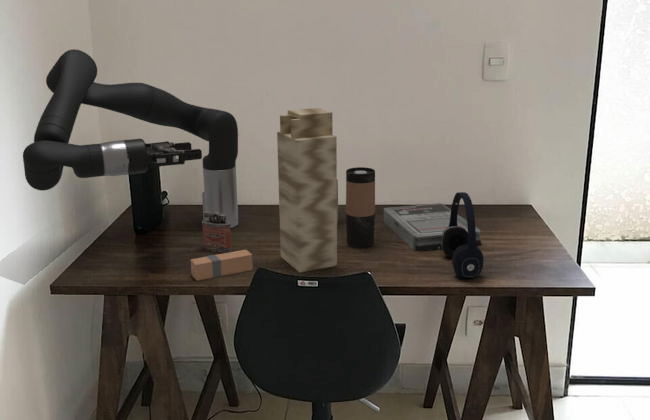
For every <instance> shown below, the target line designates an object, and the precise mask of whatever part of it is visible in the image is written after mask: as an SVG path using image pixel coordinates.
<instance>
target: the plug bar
mask: <svg viewBox="0 0 650 420" xmlns="http://www.w3.org/2000/svg"><path fill="white" fill-rule="evenodd" d="M253 268H254V266H253V254H252V253H251V252H250V251H248V250H247V249H242V250H236V251H230V252H223V253H219V254H211V255H210V254H209V255H207V256H202V257H197V258H191V259H190V270H191V271H190V272H191V276H192V277H193V279H195V281H197V282H198V281H203V280H208V279H214V278H219V277H223V276H229V275H233V274H239V273H245V272H249V271H250V272H251V271H254V269H253Z"/></svg>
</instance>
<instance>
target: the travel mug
mask: <svg viewBox="0 0 650 420" xmlns="http://www.w3.org/2000/svg"><path fill="white" fill-rule="evenodd" d="M345 180H346V181H345V225H346V227H345V228H346V244H347V246H348V247H351V248H355V249H367V248H370V247H373V245H374V242H375V225H376V224H375V223H376V222H375V220H376V171H375V169H374V168H371V167H361V166H358V167H357V166H356V167H350V168H347V169H346V171H345Z"/></svg>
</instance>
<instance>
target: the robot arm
mask: <svg viewBox="0 0 650 420" xmlns="http://www.w3.org/2000/svg"><path fill="white" fill-rule="evenodd" d="M97 75H98V66H97V64H96V62H95V60H94V59H93V58H92V57H91V56H90V55H89V54H88V53H86V52H85V51H82V50H80V49H69V50H65V52H64V53H62V54H61V55H60V56H59V58H58V59H57V60H56V62H55V63H54V65H53V66H52V68H51V69H50V71H49V72H48V74H47V75H46V79H45V83H46V87H47V88H48V89H49V90H50V91H51V93H53V94H52V96H51V98H50V99H49V101H48V103H47V104H46V106H45V108H44V109H43V112H42V114H41V116H40V118H39V121H38V123H37V125H36V129H35V132H34V135H33V136H34V137H33V142H31V143H30V144H28V145H27V146H25V148H24V150H23V151H22V161H23V167H24V168H23V169H24V177H25V180H26V182H27V184H28V185H29V187H31V188H32V189H34V190H37V191H44V192H45V191H49V190H51V189H53V188H54V187H56V186H57V185H58V184H59V183H60V181H61V178H62V176H63V170H64V167H68V168H71V169H72V170H73V173H74V175H75V176H76V177H77V178H80V179H88V178H97V177H107V176H108V177H118V176H125V175H126V176H127V175H136V174H144V173H147V171H148V170H149V164H155V165H156V167H159V168H160V167H165V166H167V167H168V166H177V165H185V163H186V161H195V160H201V159H202V173H203V175H202V177H203V189H204V191H203V192H202V193H201V199H202V200H201V201H202V202H201V203H202V215H203V216H202V217H203V220H209V218H205V217H204V213H205V212H211V213H217V212H220V214H225V215H226V221H228V222H231V226H230V229H232V228H235V227H237V226H238V225H239V208H238V207H239V204H238V188H237V187H238V185H237V169H236V168H237V167H236V165H237V164H236V163H237V158H238V154H239V129H238V128H239V127H238V122H237V120H236V118H235V116H234V115H233V114H232V113H230V112H228V111H225V110H221V109H220V110H219V109H216V108H209V107H203V106H199V105H196V104H195V105H194V104H191V103H188V102H186V101H184V100H181V98H179V97H177V96H175V95H174V94H172V93H170V92H168V91H166V90H164V89H162V88H158V87H156V86H153V85H150V84H147V83H144V82H124V83H116V84H115V83H113V84H105V83H104V84H103V83H99V82H95V80H96V78H97ZM81 105H87V106H92V107H96V108H100V109H103V110H104V109H105V110H108V111H112V112H116V113H119V114H122V115H125V116H129V117H132V118H133V119H134V118H135V119H136V120H137V119H138V120H139V121H140V120H141V121H143V122H147V123H150V124H154V125H158V126H162V127H170V128H175V129H180V130H182V131H184V132H187V133H188V134H189V133H190V134H192V135H194V136H196V137H198V138H200V139H201V140H204V141H206V142H208V153H207V155H205V156H203V152H202V151H203V150H201V149H200V148H195V149H194V148H192V143H191V142H190V141H188V142H176V143H175V142H171V141H167V140H166V141H160V142H151V143H146V142H145V140H144V139H143V138H133V139H121V140H111V141H110V140H109V141H106V142H101V143H90V144H82V145H81V144H80V145H79V144H73V143H70V139H71V136H72V133H73V130H74V127H75V123H76V119H77V118H78V113H79V110H80V107H81ZM177 157H178V158H177ZM212 220H213V218H212Z"/></svg>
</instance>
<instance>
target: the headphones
mask: <svg viewBox="0 0 650 420" xmlns="http://www.w3.org/2000/svg"><path fill="white" fill-rule="evenodd" d="M461 200H462V201H463V203H464V204H463V205H464V209H465V215H466V220H467V227H468V232H467V231H466V230H465V229H464V228H463V227H460V226H458V225H457V215H459V208H460V203H461ZM450 209H451V215H450V223H449V227H447V228H446V229H445V230H444V231H443V233H442V237H441V247H442V249H441V251H442V252H443V254H444V255H445V256H446V257H448V258H451V260H452V263H451V264H452V268H453V272H454V274H455V275H456V276H457V277H458V278H461V279H465V280H466V279H467V280H469V279H474V278H476V277H479V275H481V273H482V270H483V267H484V254H483V252H482V251H481V249H480V248H479V247H478V246H476V228H475V227H476V219H475V211H474V206H473V202H472V198H471V197H470V195H469V194H468V193H467V192H464V191H463V192H461V191H460V192H459V191H458V192H456V193H455V194H454V196H453V200H452V202H451V208H450Z"/></svg>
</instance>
